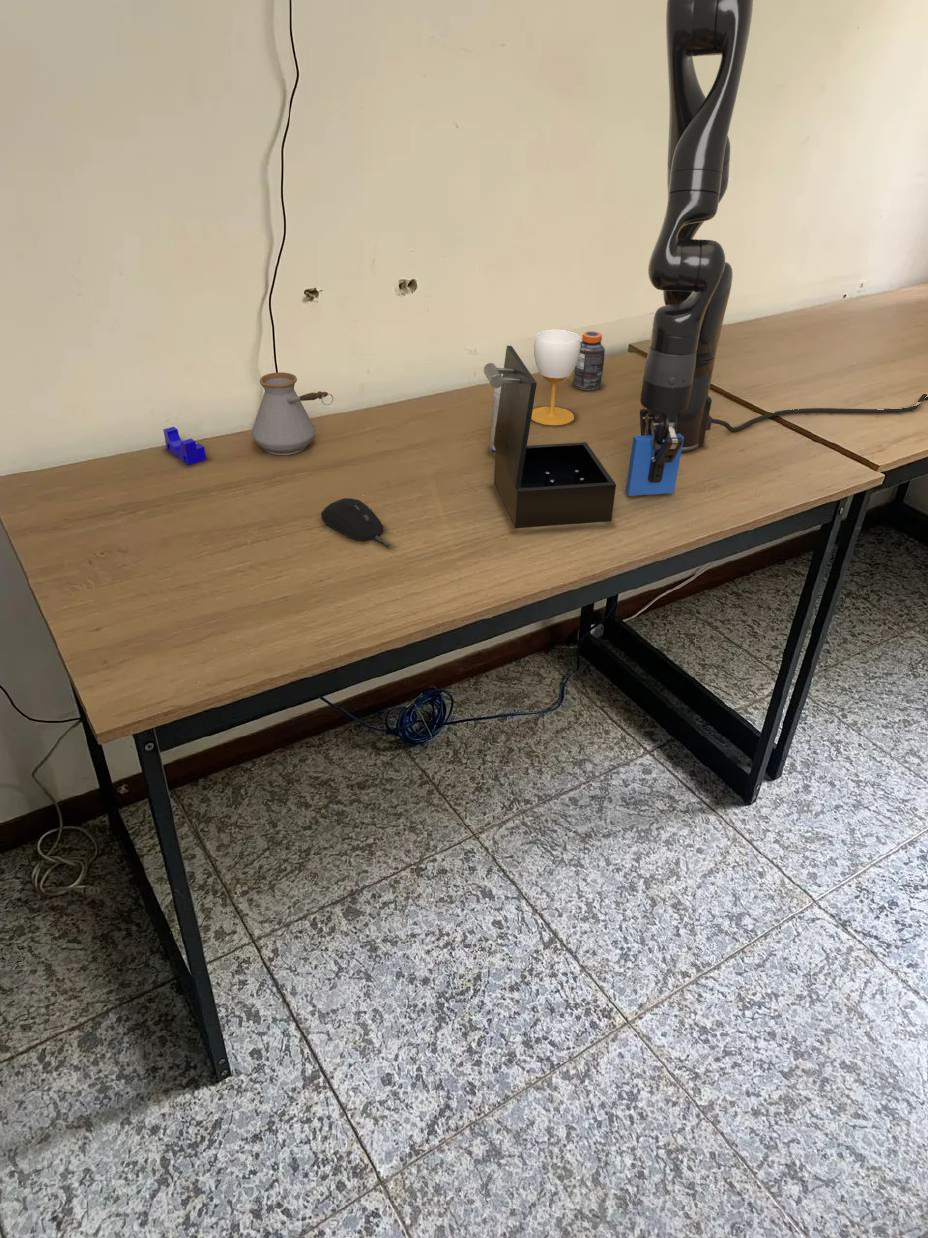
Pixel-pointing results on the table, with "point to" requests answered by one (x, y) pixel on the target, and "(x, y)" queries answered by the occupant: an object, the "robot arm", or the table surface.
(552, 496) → the black square open box
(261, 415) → the coffee pot
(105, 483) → the table surface
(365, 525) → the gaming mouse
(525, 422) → the black lid with handle
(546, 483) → the rack
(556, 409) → the cup
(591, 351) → the pill bottle
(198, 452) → the cable holder
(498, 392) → the energy drink
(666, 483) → the blue lid
